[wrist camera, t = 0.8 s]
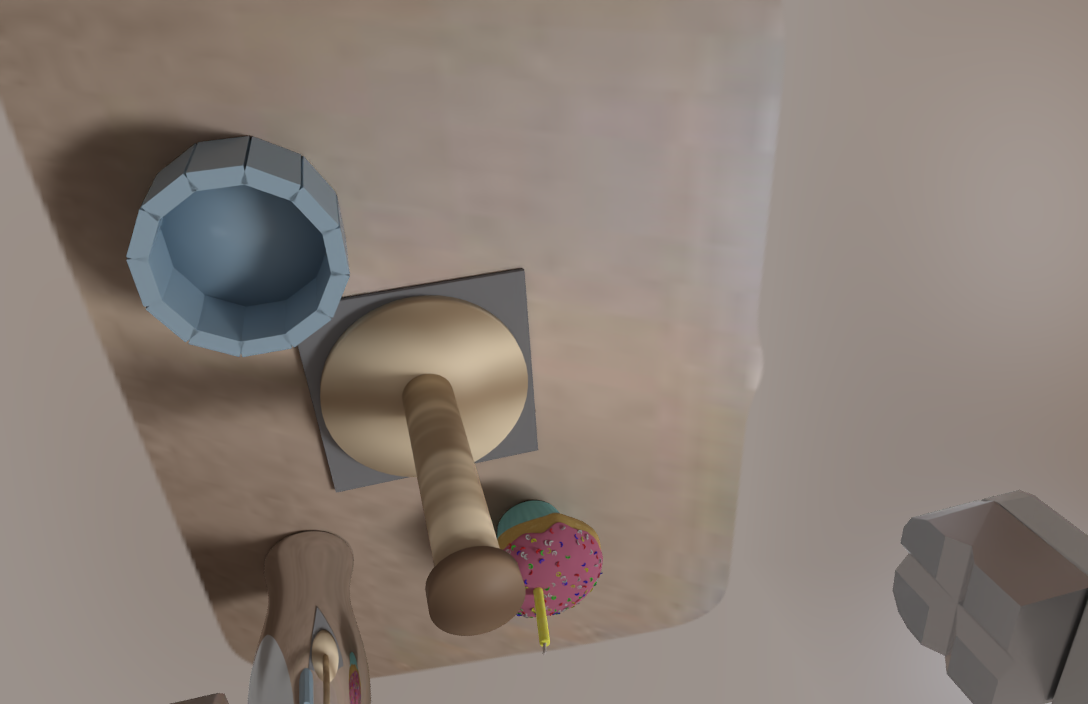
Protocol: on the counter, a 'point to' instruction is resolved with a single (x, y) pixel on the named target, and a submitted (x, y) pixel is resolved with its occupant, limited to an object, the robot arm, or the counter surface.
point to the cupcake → (550, 559)
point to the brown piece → (436, 436)
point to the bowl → (240, 247)
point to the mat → (487, 291)
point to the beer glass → (309, 627)
